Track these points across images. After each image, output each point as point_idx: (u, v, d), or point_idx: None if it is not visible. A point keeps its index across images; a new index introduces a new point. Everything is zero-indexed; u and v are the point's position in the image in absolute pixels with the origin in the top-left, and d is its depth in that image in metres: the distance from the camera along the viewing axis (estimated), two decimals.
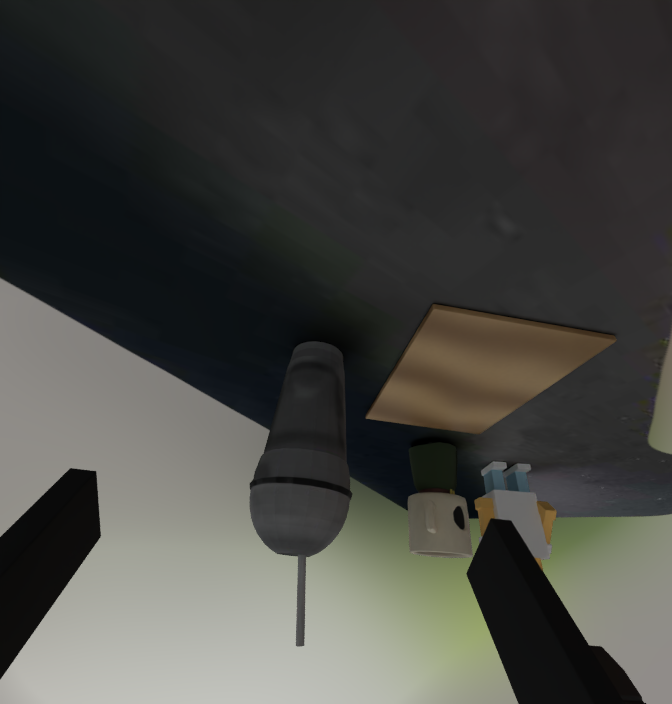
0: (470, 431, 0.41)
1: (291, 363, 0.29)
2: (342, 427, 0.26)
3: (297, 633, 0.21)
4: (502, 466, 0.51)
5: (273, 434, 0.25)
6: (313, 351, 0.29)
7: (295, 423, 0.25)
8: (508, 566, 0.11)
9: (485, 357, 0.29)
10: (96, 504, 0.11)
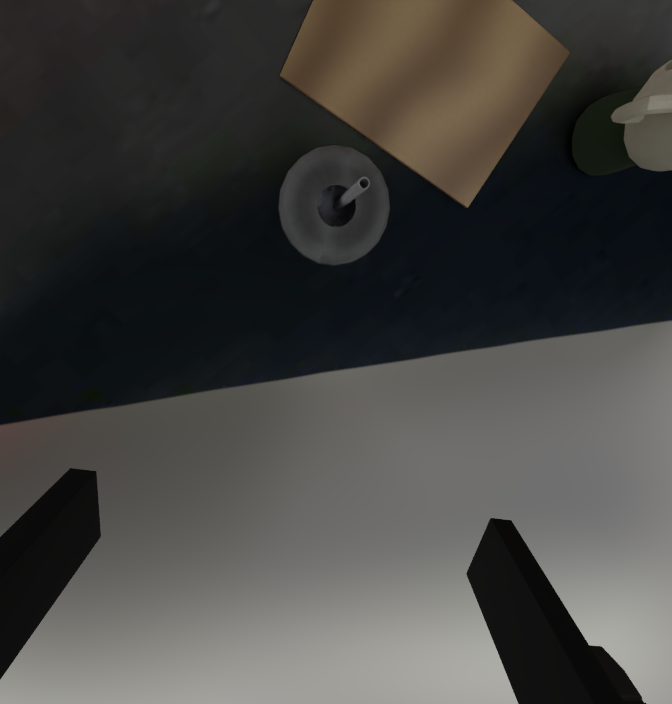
0: (555, 65, 0.29)
1: None
2: None
3: (356, 187, 0.15)
4: None
5: None
6: None
7: None
8: (508, 566, 0.11)
9: (366, 29, 0.28)
10: (96, 504, 0.11)
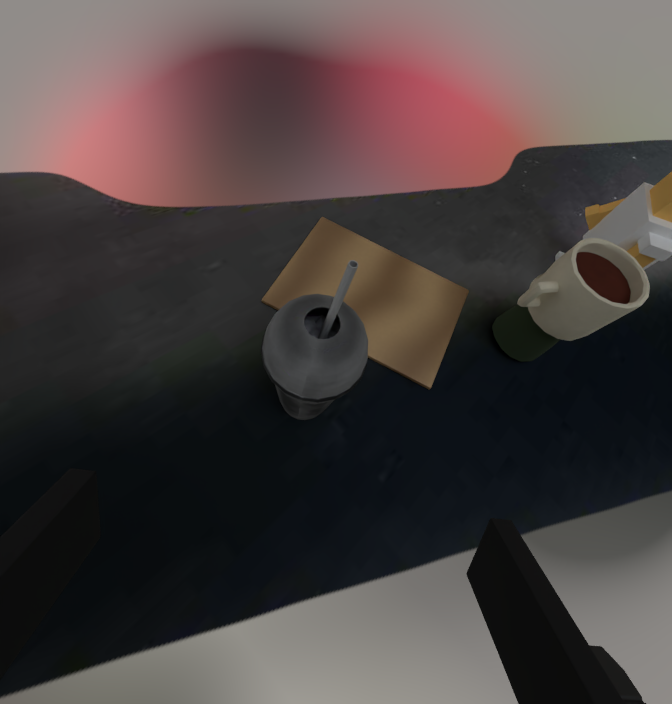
0: (462, 296, 0.41)
1: (282, 405, 0.32)
2: None
3: (346, 273, 0.17)
4: None
5: None
6: None
7: None
8: (508, 566, 0.11)
9: (326, 277, 0.39)
10: (96, 504, 0.11)
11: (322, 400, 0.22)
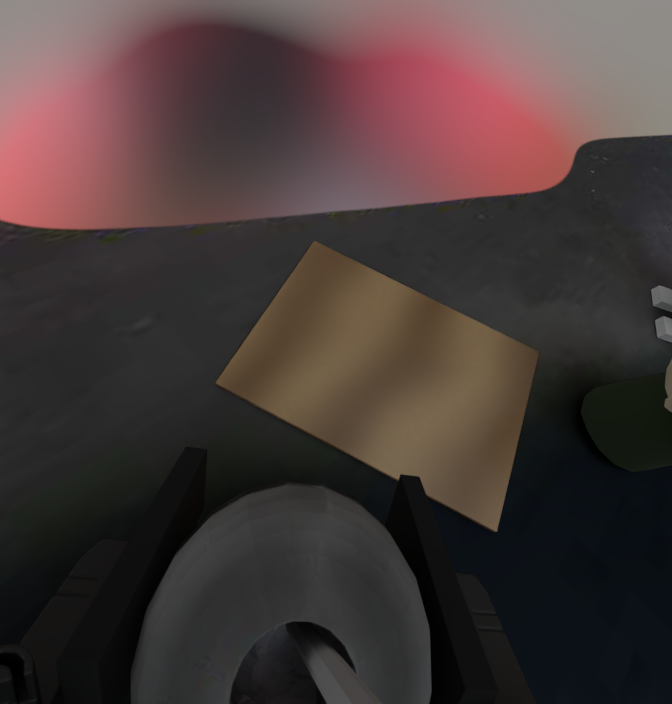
0: (530, 362, 0.27)
1: None
2: None
3: None
4: (663, 322, 0.30)
5: None
6: None
7: None
8: (406, 512, 0.12)
9: (321, 338, 0.25)
10: (204, 478, 0.13)
11: None
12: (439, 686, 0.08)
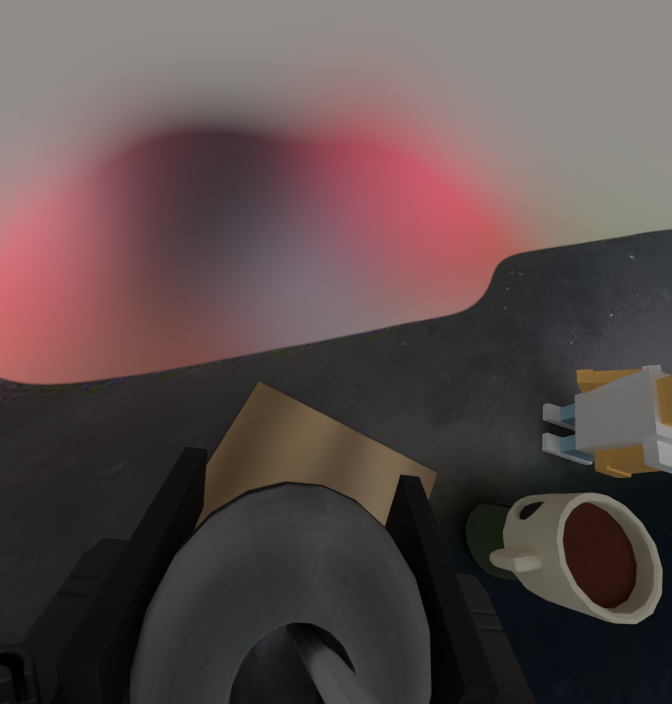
0: (428, 483, 0.34)
1: None
2: None
3: None
4: (546, 438, 0.37)
5: None
6: None
7: None
8: (406, 512, 0.12)
9: (259, 473, 0.32)
10: (204, 478, 0.13)
11: None
12: (439, 686, 0.08)
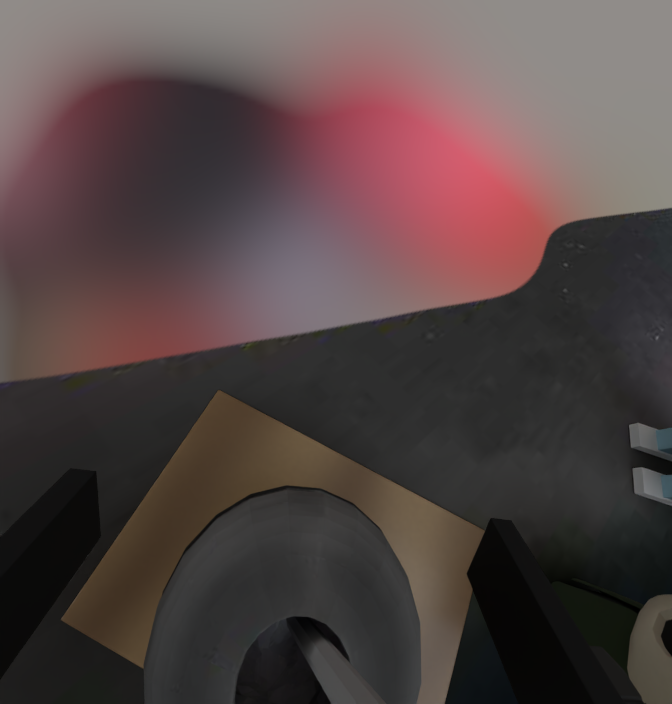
0: (474, 549, 0.22)
1: None
2: None
3: None
4: (641, 475, 0.26)
5: None
6: None
7: None
8: (508, 566, 0.11)
9: None
10: (96, 504, 0.11)
11: None
12: None
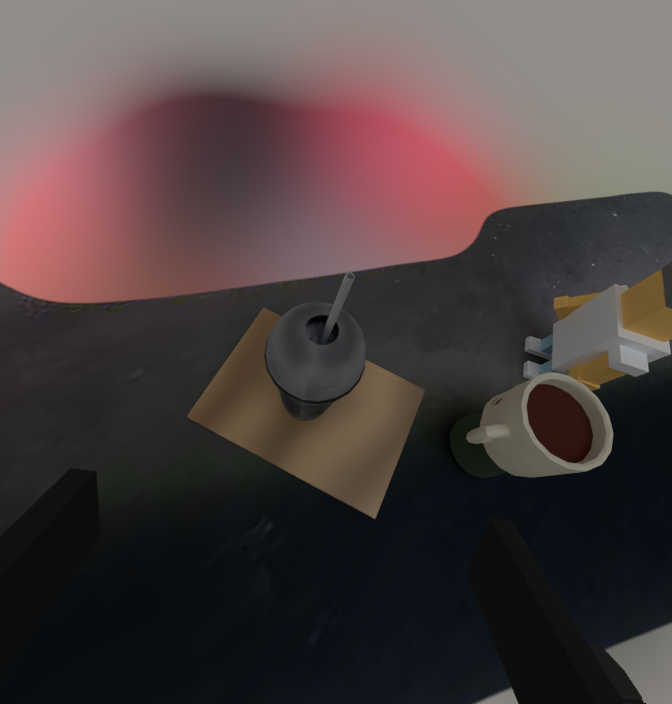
0: (417, 398, 0.37)
1: (285, 407, 0.33)
2: None
3: (343, 284, 0.18)
4: (527, 365, 0.41)
5: None
6: None
7: None
8: (508, 566, 0.11)
9: (263, 383, 0.35)
10: (96, 504, 0.11)
11: (322, 402, 0.24)
12: None
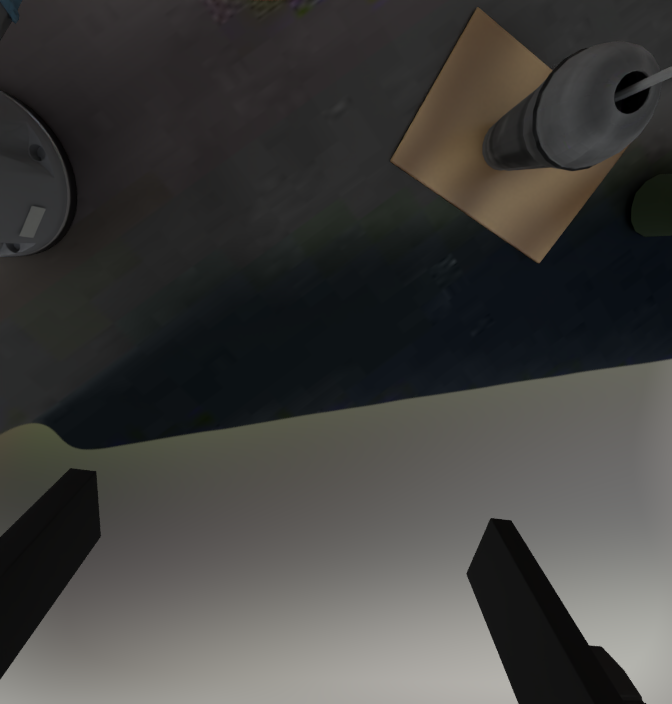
0: None
1: (490, 156, 0.33)
2: None
3: None
4: None
5: (519, 145, 0.28)
6: (488, 135, 0.33)
7: (515, 120, 0.27)
8: (508, 566, 0.11)
9: (465, 124, 0.34)
10: (96, 504, 0.11)
11: (577, 169, 0.25)
12: None
